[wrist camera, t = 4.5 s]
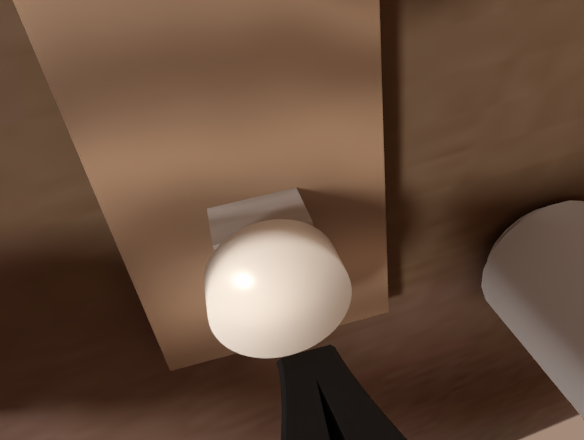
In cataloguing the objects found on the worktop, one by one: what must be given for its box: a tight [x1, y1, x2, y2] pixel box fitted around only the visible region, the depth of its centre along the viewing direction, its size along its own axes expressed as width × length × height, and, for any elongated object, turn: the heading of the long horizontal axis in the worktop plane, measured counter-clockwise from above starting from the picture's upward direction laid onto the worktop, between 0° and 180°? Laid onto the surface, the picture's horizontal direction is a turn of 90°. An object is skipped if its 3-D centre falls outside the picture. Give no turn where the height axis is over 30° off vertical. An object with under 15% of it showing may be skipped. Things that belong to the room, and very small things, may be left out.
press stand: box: [13, 0, 389, 371], centre depth 16 cm, size 26×11×4 cm, turn 8°
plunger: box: [204, 219, 352, 358], centre depth 18 cm, size 5×5×4 cm
